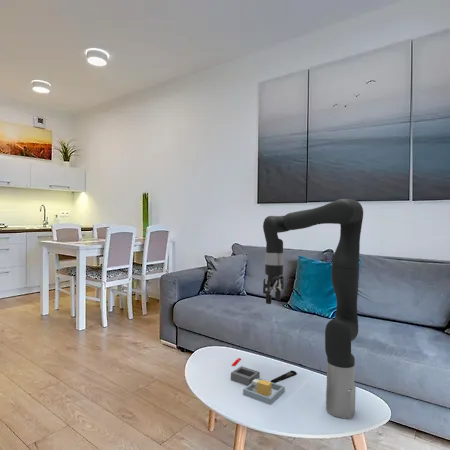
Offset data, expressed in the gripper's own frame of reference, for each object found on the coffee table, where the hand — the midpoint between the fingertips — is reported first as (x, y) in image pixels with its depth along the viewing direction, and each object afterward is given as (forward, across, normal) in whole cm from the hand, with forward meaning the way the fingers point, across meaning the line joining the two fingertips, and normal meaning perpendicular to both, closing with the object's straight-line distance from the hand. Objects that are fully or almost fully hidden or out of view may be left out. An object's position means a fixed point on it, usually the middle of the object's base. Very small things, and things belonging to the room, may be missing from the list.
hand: (273, 301), depth 141 cm
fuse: (+30, -14, +1) cm, 33 cm away
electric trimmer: (+34, +3, -5) cm, 34 cm away
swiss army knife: (+34, +4, +20) cm, 39 cm away
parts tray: (+33, -14, -4) cm, 36 cm away
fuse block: (+33, -9, +8) cm, 35 cm away
